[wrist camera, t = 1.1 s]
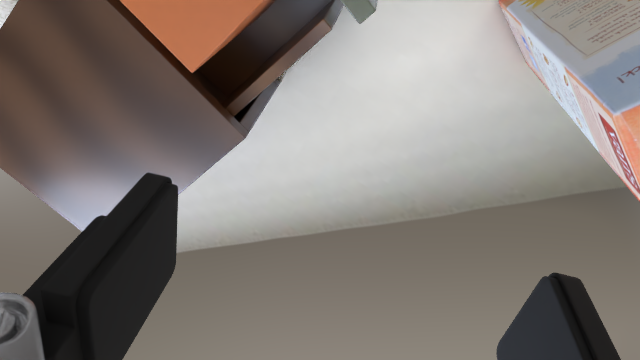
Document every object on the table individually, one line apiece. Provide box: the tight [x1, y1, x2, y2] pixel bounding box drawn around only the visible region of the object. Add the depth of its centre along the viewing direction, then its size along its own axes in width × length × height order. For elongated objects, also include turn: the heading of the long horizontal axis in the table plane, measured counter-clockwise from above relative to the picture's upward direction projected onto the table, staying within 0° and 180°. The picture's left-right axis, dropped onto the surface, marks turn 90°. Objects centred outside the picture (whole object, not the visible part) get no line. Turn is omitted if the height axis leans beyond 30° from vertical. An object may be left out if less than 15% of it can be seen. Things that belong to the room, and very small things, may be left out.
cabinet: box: [0, 0, 280, 231], centre depth 35 cm, size 17×15×11 cm
